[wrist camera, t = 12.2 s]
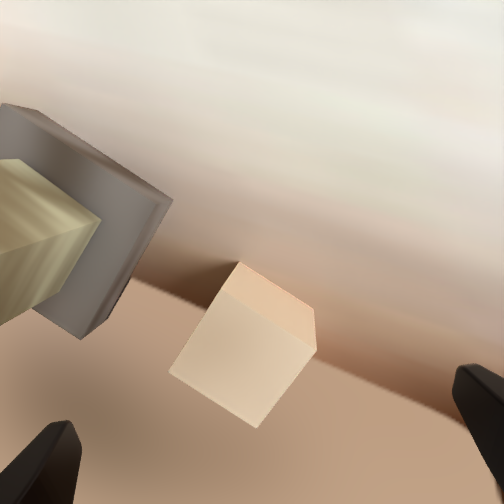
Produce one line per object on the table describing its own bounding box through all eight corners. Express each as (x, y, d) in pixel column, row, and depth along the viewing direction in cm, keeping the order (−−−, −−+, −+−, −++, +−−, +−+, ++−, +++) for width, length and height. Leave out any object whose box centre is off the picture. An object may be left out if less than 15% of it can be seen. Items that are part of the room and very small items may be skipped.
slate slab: (176, 199, 21) (156, 204, 18) (107, 318, 23) (80, 340, 20) (43, 111, 21) (2, 102, 18) (-12, 240, 23) (-57, 251, 20)
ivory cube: (313, 308, 21) (316, 350, 16) (266, 372, 22) (256, 428, 17) (239, 260, 21) (220, 289, 16) (197, 327, 22) (167, 372, 17)
